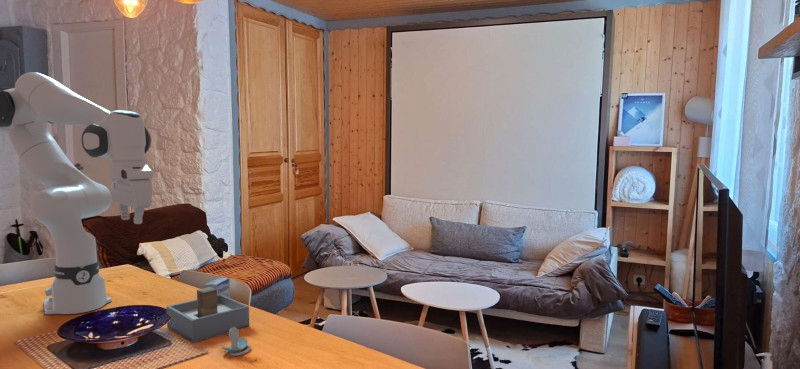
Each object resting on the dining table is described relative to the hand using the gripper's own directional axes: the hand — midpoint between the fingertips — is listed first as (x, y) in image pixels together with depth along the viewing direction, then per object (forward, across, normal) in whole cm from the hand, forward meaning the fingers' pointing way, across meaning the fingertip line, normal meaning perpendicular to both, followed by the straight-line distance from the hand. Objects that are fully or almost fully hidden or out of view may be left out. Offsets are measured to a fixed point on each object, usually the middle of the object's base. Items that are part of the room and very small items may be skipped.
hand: (131, 221), depth 150 cm
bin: (+31, +10, +16) cm, 36 cm away
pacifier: (+32, +32, +13) cm, 47 cm away
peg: (+30, +10, +16) cm, 36 cm away
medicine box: (+31, -4, +26) cm, 41 cm away
